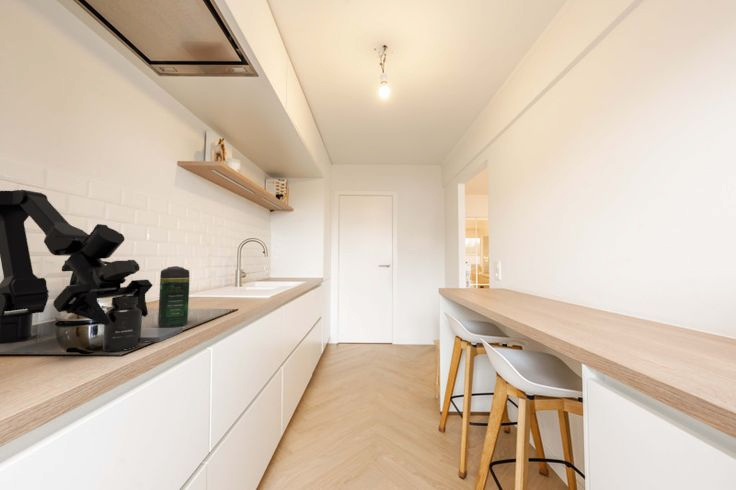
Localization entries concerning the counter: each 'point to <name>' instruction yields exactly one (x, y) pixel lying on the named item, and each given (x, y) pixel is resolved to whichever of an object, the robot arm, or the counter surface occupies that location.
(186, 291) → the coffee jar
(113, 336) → the supplement bottle
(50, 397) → the counter surface
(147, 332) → the coaster
